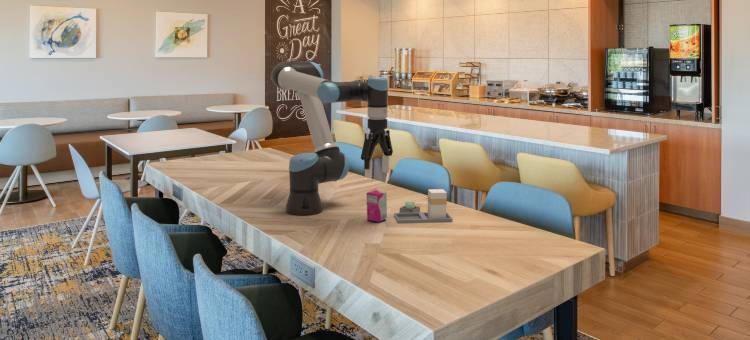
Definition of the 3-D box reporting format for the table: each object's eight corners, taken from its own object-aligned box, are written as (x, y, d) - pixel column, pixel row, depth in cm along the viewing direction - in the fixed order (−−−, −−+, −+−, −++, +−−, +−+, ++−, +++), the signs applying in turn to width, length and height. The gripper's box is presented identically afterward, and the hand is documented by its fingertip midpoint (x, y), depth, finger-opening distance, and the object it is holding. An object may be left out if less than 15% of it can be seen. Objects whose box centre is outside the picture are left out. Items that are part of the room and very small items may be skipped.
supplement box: (375, 217, 230) (375, 189, 228) (387, 220, 226) (387, 191, 224) (366, 220, 226) (366, 192, 223) (378, 223, 222) (378, 194, 220)
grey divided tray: (398, 225, 219) (398, 220, 218) (394, 218, 229) (394, 213, 228) (452, 224, 221) (452, 218, 221) (446, 217, 231) (446, 211, 231)
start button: (403, 213, 234) (403, 203, 233) (408, 211, 237) (408, 201, 236) (411, 215, 232) (411, 204, 231) (416, 212, 235) (416, 202, 234)
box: (430, 220, 222) (431, 193, 220) (427, 216, 228) (428, 189, 226) (446, 220, 223) (447, 192, 221) (442, 216, 229) (443, 189, 226)
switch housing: (399, 215, 233) (399, 207, 233) (407, 211, 238) (407, 204, 238) (412, 217, 230) (412, 210, 230) (419, 214, 235) (419, 206, 235)
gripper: (368, 121, 206) (367, 181, 210) (402, 116, 226) (401, 170, 230) (351, 120, 210) (351, 178, 215) (386, 115, 230) (385, 168, 234)
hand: (377, 174), depth 222 cm, fingers open, 11 cm apart
